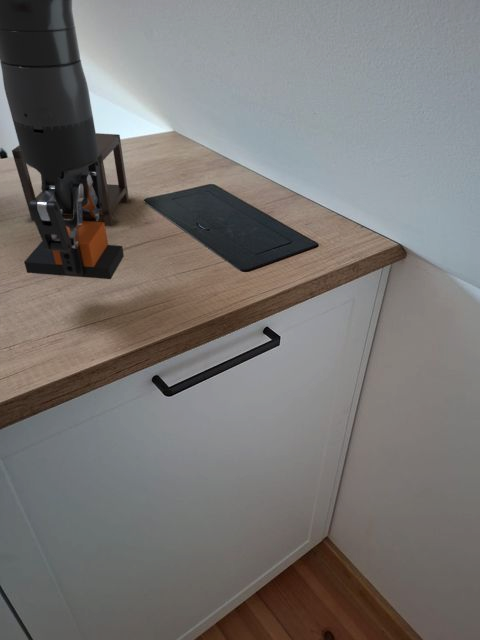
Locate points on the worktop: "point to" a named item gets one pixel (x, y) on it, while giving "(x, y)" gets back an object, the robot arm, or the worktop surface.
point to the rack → (109, 192)
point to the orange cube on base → (93, 248)
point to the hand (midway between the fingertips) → (84, 261)
